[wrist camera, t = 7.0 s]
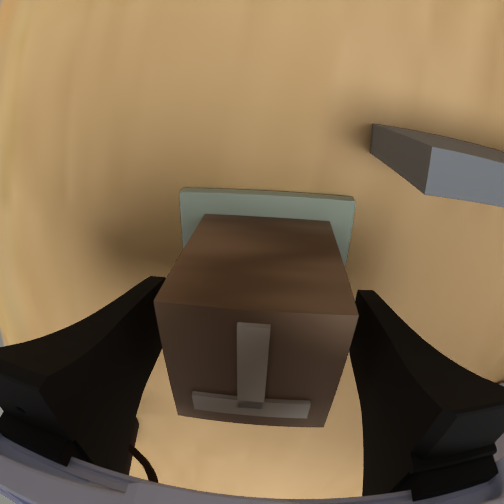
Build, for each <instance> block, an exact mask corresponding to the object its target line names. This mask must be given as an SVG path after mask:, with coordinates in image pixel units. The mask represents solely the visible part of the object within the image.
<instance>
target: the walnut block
mask: <svg viewBox="0 0 504 504" xmlns="http://www.w3.org/2000/svg"><path fill="white" fill-rule="evenodd" d="M154 307H155V313H156V318H157V323H158V329H159V334H160V339H161V344H162V349H163V353H164V358H165V363H166V367H167V372H168V376H169V380H170V385H171V389H172V393H173V397H174V401H175V405H176V409H177V413H178V415H181V416H187V417H193V418H200V419H207V420H215V421H224V422H233V423H243V424H254V425H268V426H287V427H324V424H325V422H326V419H327V416H328V413H329V411H330V408H331V405H332V402H333V399H334V396H335V393H336V390H337V387H338V384H339V381H340V378H341V375H342V372H343V369H344V365H345V362H346V359H347V356H348V352H349V349H350V346H351V342H352V339H353V335H354V331H355V328H356V324H357V320H358V317H359V314H358V311H357V307H356V304H355V300H354V297H353V293H352V290H351V287H350V283H349V280H348V277H347V273H346V270H345V267H344V264H343V261H342V257H341V254H340V251H339V248H338V245H337V242H336V239H335V236H334V233H333V230H332V227H331V224H330V221H321V220H307V219H292V218H277V217H260V216H241V215H222V214H204V216H203V218H202V219H201V221H200V222H199V224H198V226H197V227H196V229H195V231H194V232H193V234H192V236H191V237H190V239H189V241H188V242H187V244H186V246H185V247H184V249H183V251H182V252H181V254H180V256H179V257H178V259H177V261H176V262H175V264H174V266H173V268H172V269H171V271H170V273H169V274H168V276H167V278H166V280H165V281H164V283H163V285H162V287H161V288H160V290H159V292H158V294H157V295H156V297H155V299H154Z"/></svg>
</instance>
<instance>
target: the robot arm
mask: <svg viewBox="0 0 504 504" xmlns="http://www.w3.org/2000/svg"><path fill="white" fill-rule="evenodd" d="M165 280H166V278H165V277H156V276H150V277H148V278H147V279H145V280H144V281H142V282H141V283H139V284H138V285H136V286H135V287H133V288H132V289H130V290H129V291H128V292H126V293H125V294H123V295H122V296H120V297H119V298H117V299H116V300H115V301H113V302H111V303H110V304H108V305H107V306H105V307H103V308H102V309H100V310H99V311H97V312H96V313H94V314H92V315H90V316H89V317H87V318H85V319H83V320H81V321H79V322H77V323H75V324H73V325H71V326H69V327H66V328H64V329H62V330H59V331H57V332H54V333H52V334H49V335H46V336H44V337H41V338H37V339H34V340H31V341H27V342H23V343H19V344H14V345H9V346H5V347H0V407H1V408H2V410H3V411H4V412H3V414H2V415H1V417H0V493H1V494H2V495H4V496H5V497H7V498H9V499H10V500H12V501H13V502H15V503H16V504H504V383H500V384H497V383H494V382H492V381H489V380H487V379H485V378H482V377H480V376H478V375H476V374H474V373H472V372H471V371H469V370H467V369H465V368H463V367H462V366H460V365H458V364H457V363H455V362H454V361H452V360H450V359H449V358H447V357H446V356H444V355H443V354H442V353H440V352H439V351H438V350H436V349H435V348H434V347H432V346H431V345H430V344H428V343H427V342H426V341H425V340H424V339H422V338H421V337H420V336H419V335H418V334H417V333H416V332H415V331H413V330H412V329H411V328H410V327H409V326H408V325H407V324H406V323H405V322H404V321H403V320H402V319H401V318H400V317H399V316H398V315H397V314H396V313H395V312H394V311H393V310H392V309H391V308H390V307H389V306H388V305H387V304H386V303H385V302H384V301H383V300H382V299H381V297H380V296H379V295H378V294H377V293H375V292H374V291H373V290H358V291H357V296H356V300H355V304H356V307H357V311H358V314H359V317H358V320H357V324H356V328H355V331H354V335H353V339H352V342H351V346H350V349H349V352H350V358H351V363H352V367H353V372H354V376H355V381H356V385H357V390H358V394H359V399H360V405H361V412H362V425H363V447H364V472H363V492H362V496H361V497H349V498H333V499H272V498H256V497H244V496H234V495H225V494H217V493H210V492H203V491H197V490H191V489H186V488H180V487H175V486H170V485H166V484H161V483H156V482H152V481H148V480H144V479H140V478H136V477H133V476H129V475H125V474H124V473H125V466H126V460H127V454H128V449H129V444H130V439H131V434H132V430H133V426H134V422H135V418H136V414H137V410H138V407H139V403H140V400H141V397H142V393H143V391H144V388H145V385H146V383H147V381H148V379H149V376H150V374H151V372H152V370H153V367H154V365H155V363H156V361H157V359H158V356H159V354H160V352H161V350H162V344H161V339H160V334H159V329H158V323H157V318H156V313H155V307H154V299H155V297H156V295H157V294H158V292H159V290H160V288H161V287H162V285H163V283H164V281H165Z"/></svg>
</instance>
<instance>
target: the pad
mask: <svg viewBox="0 0 504 504" xmlns="http://www.w3.org/2000/svg"><path fill="white" fill-rule="evenodd" d="M179 198H180V215H181V229H182V243H183V249H184V247H185V246H186V244H187V242H188V241H189V239H190V237H191V236H192V234H193V232H194V231H195V229H196V227H197V226H198V224H199V222H200V221H201V219H202V218H203V216H204V214H222V215H241V216H260V217H277V218H292V219H307V220H321V221H330V224H331V227H332V230H333V233H334V236H335V239H336V242H337V245H338V248H339V251H340V254H341V257H342V261H343V264H344V267H346V261H347V256H348V250H349V244H350V238H351V231H352V225H353V218H354V211H355V204H356V201H355V199H354V198H353V197H349V196H337V195H325V194H312V193H297V192H281V191H263V190H241V189H213V188H183V189H182V190H181V191H180V192H179Z"/></svg>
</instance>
